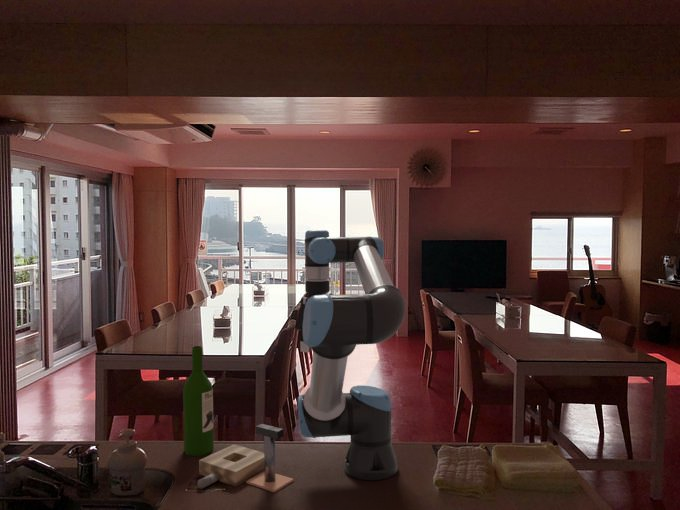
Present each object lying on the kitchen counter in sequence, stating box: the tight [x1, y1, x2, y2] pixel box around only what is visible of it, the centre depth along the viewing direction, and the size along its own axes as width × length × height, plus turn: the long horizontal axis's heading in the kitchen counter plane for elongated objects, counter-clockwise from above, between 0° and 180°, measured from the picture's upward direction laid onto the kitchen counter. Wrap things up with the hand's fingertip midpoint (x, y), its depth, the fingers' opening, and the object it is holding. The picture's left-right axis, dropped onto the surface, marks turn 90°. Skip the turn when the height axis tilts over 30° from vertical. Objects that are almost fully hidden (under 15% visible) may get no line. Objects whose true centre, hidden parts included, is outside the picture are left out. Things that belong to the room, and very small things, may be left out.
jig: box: [197, 444, 264, 490], centre depth 160 cm, size 14×20×4 cm
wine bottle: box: [182, 345, 214, 457], centre depth 177 cm, size 9×9×32 cm
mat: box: [245, 471, 294, 493], centre depth 156 cm, size 10×8×1 cm
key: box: [255, 423, 284, 482], centre depth 155 cm, size 3×8×14 cm, turn 57°
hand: (317, 347), depth 178 cm, fingers open, 13 cm apart
